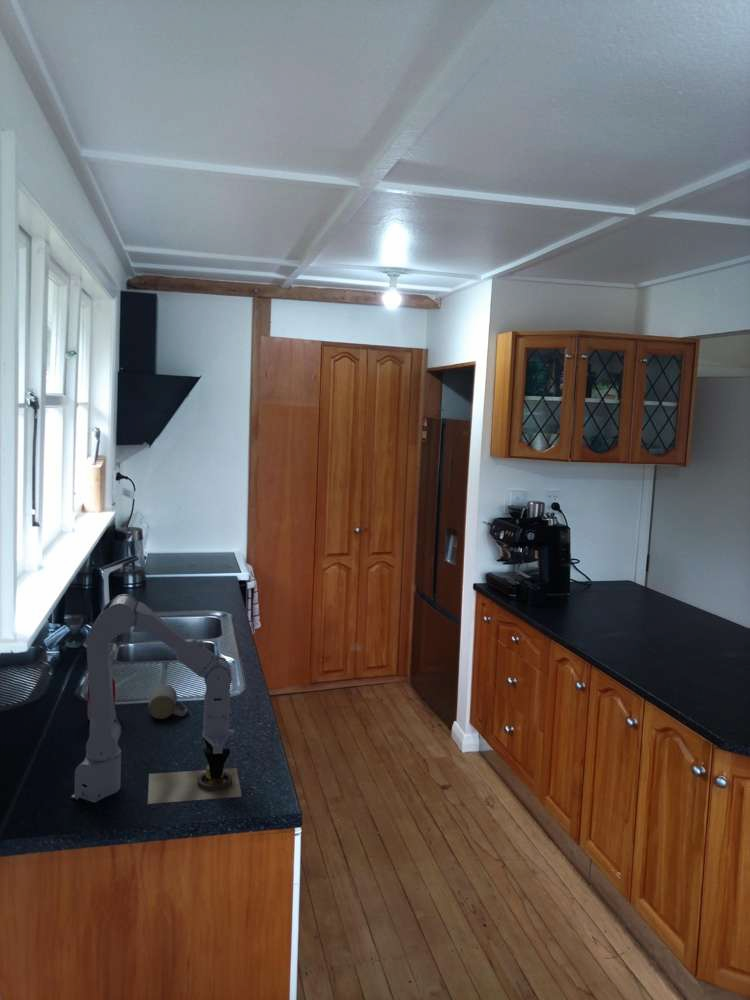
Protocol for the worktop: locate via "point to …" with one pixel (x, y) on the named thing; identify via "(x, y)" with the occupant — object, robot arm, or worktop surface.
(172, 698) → the ceramic mug
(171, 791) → the jig board
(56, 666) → the worktop surface
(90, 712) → the soda can
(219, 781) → the brass fitting
